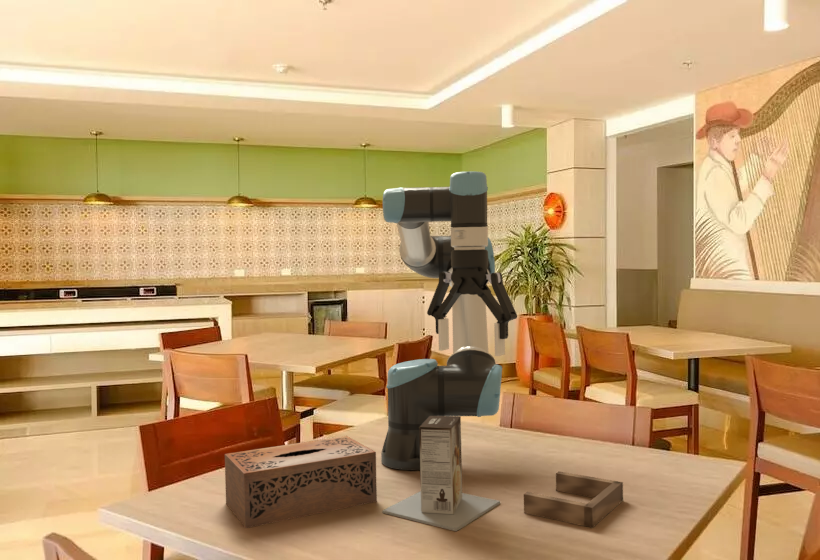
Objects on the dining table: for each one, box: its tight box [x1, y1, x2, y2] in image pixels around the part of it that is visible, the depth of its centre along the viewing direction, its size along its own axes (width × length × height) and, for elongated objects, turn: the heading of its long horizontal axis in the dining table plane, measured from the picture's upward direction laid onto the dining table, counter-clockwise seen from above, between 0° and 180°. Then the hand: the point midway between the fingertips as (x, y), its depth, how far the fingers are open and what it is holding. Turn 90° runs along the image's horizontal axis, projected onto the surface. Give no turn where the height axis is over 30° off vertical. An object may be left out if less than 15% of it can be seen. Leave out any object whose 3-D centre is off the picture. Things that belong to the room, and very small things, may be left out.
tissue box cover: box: [224, 435, 378, 529], centre depth 134 cm, size 26×14×10 cm, turn 118°
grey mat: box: [382, 490, 501, 532], centre depth 129 cm, size 16×16×1 cm
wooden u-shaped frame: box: [523, 471, 624, 528], centre depth 129 cm, size 13×16×4 cm
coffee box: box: [419, 416, 463, 515], centre depth 129 cm, size 9×6×16 cm
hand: (471, 352), depth 140 cm, fingers open, 13 cm apart
